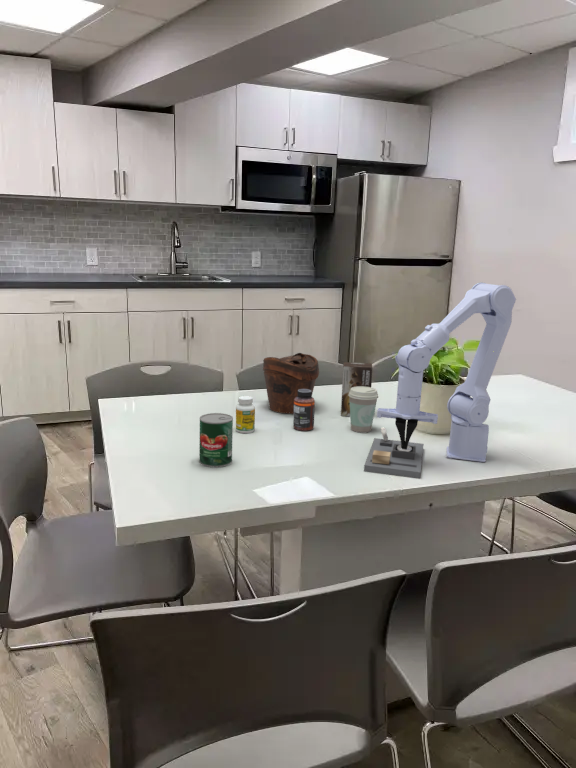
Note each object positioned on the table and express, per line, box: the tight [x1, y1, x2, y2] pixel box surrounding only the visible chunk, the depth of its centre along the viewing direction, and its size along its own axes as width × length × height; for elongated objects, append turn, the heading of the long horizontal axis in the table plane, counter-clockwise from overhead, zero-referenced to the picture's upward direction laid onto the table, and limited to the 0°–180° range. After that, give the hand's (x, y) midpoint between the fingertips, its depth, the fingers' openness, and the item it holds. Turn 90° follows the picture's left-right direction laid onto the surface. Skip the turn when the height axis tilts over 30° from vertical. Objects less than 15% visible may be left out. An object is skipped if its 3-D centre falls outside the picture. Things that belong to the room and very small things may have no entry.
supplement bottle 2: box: [292, 389, 316, 432], centre depth 169 cm, size 6×6×11 cm
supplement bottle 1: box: [235, 395, 256, 434], centre depth 165 cm, size 5×5×10 cm
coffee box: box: [340, 361, 374, 417], centre depth 185 cm, size 9×6×16 cm
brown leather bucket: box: [262, 352, 320, 415], centre depth 189 cm, size 18×20×18 cm
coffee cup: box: [349, 386, 379, 434], centre depth 170 cm, size 8×9×12 cm
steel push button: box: [397, 445, 412, 452], centre depth 147 cm, size 4×4×2 cm
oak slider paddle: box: [372, 450, 391, 465], centre depth 142 cm, size 4×3×2 cm
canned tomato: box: [198, 412, 234, 468], centre depth 141 cm, size 8×8×11 cm
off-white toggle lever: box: [380, 427, 389, 440], centre depth 154 cm, size 1×1×4 cm
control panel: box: [363, 437, 424, 479], centre depth 148 cm, size 13×21×3 cm, turn 165°
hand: (404, 447), depth 147 cm, fingers closed, pressing on steel push button
